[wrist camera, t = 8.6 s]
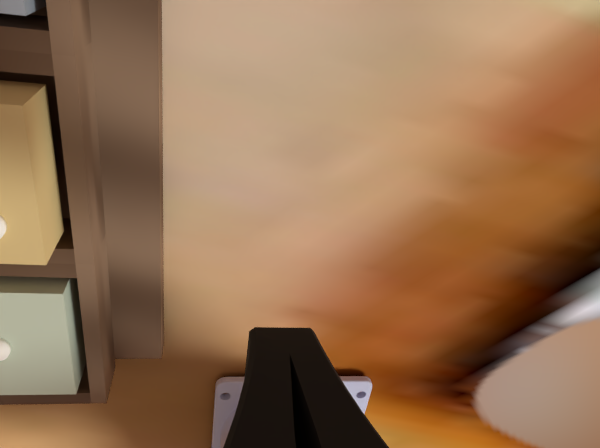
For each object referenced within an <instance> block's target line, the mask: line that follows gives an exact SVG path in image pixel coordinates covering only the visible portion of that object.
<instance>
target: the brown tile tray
mask: <svg viewBox="0 0 600 448" xmlns="http://www.w3.org/2000/svg"><path fill="white" fill-rule="evenodd" d="M0 80H4V81H16V82H27V83H38V84H46V87H47V95H48V104H49V112H50V120H51V128H52V137H53V145H54V153H55V161H56V169H57V178H58V186H59V194H60V202H61V211H62V219H63V227H64V232H63V234H62V236H61V238H60V240H59V242H58V243H57V245H56V247H55V249H54V251H53V253H52V255H51V257H50V259H49V261H48V263H47V265H22V264H0V276H17V277H54V278H77V282H78V291H79V300H80V309H81V317H82V326H83V335H84V344H85V353H86V365H85V368H84V371H83V374H82V377H81V381H80V384H79V387H78V390H77V393H76V394H63V395H0V405H5V404H78V403H107V399H108V395H109V391H110V387H111V383H112V379H113V375H114V371H115V359H162V352H163V345H164V293H163V143H162V0H46V7H43V8H41V9H39V10H37V11H35V12H33V13H31V14H29V15H27V16H22V15H12V14H3V13H0Z"/></svg>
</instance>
